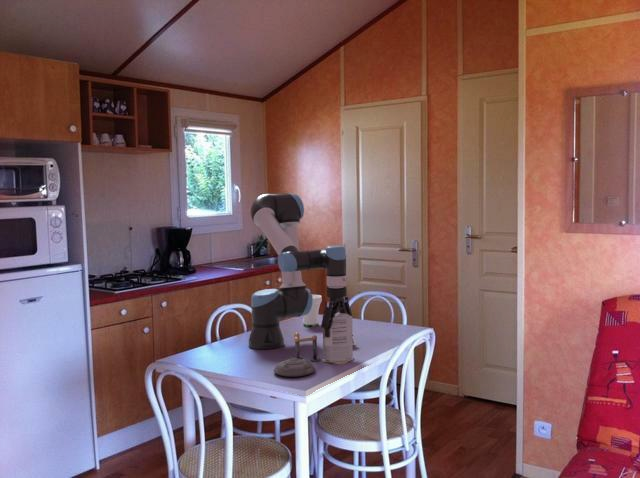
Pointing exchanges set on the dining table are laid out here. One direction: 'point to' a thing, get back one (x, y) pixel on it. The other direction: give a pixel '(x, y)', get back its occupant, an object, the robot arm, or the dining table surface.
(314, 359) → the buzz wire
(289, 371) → the flying saucer
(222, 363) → the dining table surface
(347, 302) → the robot arm
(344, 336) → the supplement box
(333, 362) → the coaster
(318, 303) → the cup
